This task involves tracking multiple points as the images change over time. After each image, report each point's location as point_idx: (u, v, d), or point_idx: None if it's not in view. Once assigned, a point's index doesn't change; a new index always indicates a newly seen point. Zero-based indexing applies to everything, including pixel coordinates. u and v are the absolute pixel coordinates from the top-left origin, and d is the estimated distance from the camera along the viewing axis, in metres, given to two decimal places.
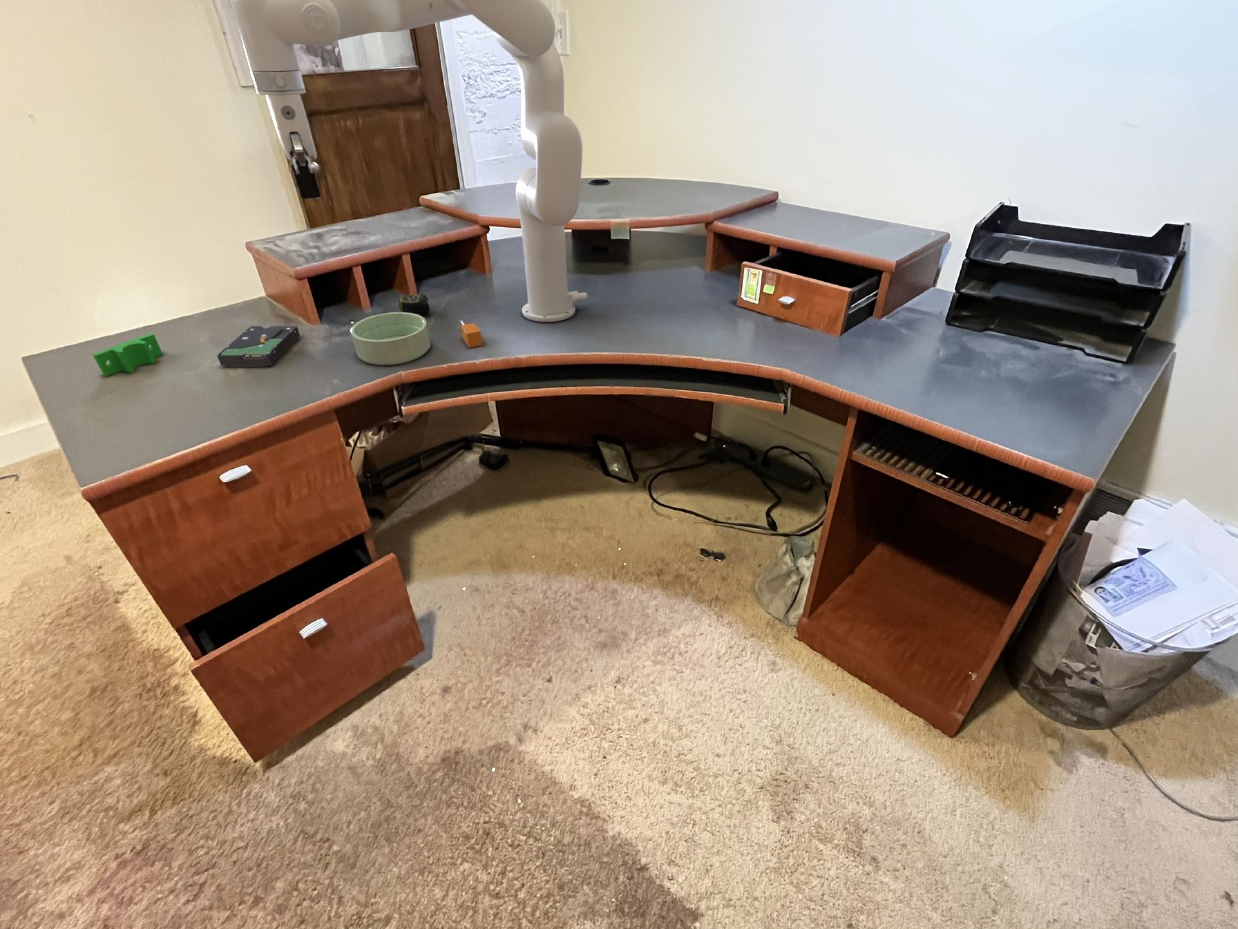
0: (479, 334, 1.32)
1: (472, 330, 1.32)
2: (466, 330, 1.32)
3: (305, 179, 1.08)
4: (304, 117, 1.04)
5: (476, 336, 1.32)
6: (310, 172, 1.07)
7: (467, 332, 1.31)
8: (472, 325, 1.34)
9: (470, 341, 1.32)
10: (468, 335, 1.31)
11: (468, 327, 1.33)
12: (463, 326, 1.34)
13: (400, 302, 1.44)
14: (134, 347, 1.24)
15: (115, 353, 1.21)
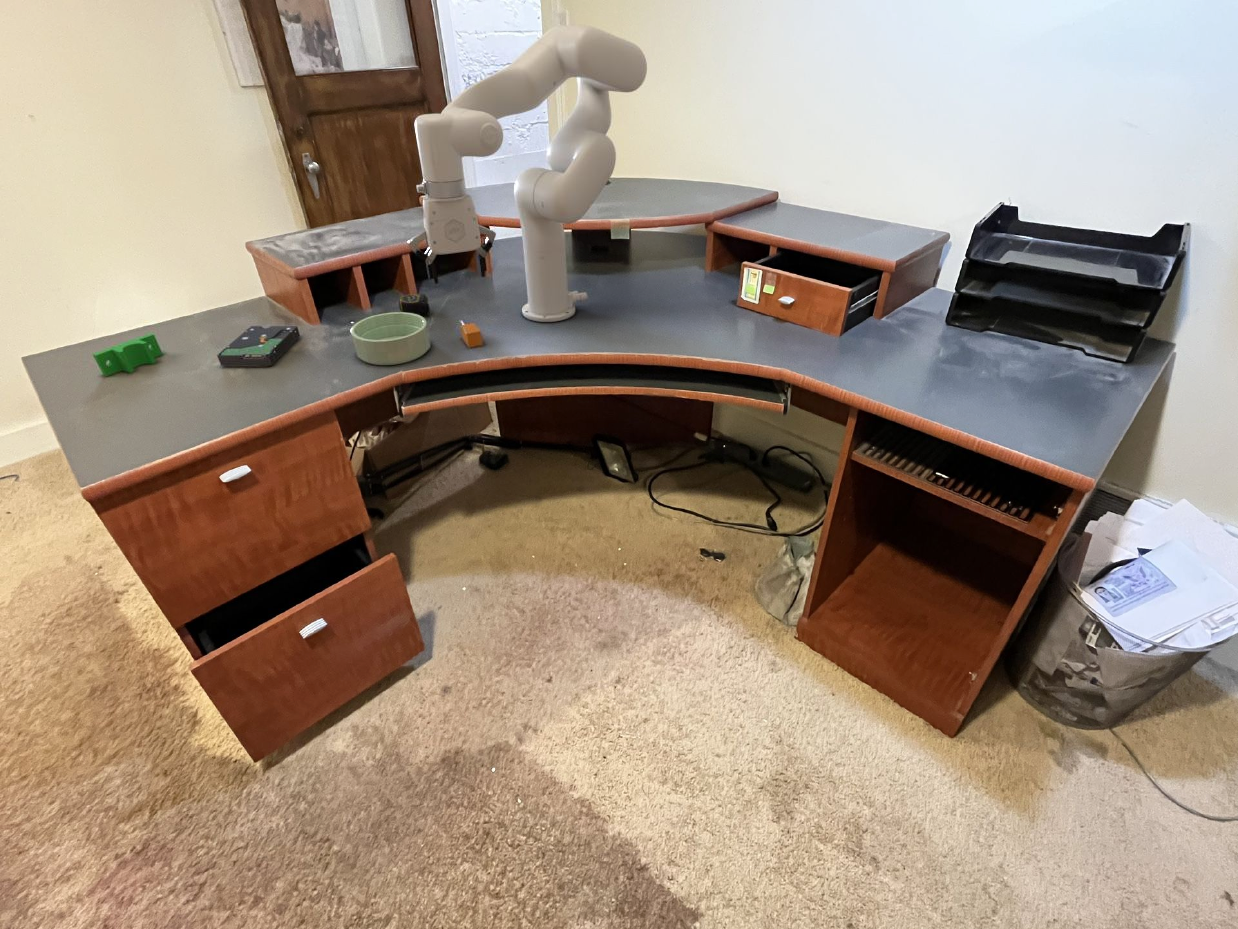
0: (479, 334, 1.32)
1: (472, 330, 1.32)
2: (466, 330, 1.32)
3: (427, 266, 1.23)
4: (428, 220, 1.16)
5: (476, 336, 1.32)
6: (426, 262, 1.22)
7: (467, 332, 1.31)
8: (472, 325, 1.34)
9: (470, 341, 1.32)
10: (468, 335, 1.31)
11: (468, 327, 1.33)
12: (463, 326, 1.34)
13: (400, 302, 1.44)
14: (134, 347, 1.24)
15: (115, 353, 1.21)
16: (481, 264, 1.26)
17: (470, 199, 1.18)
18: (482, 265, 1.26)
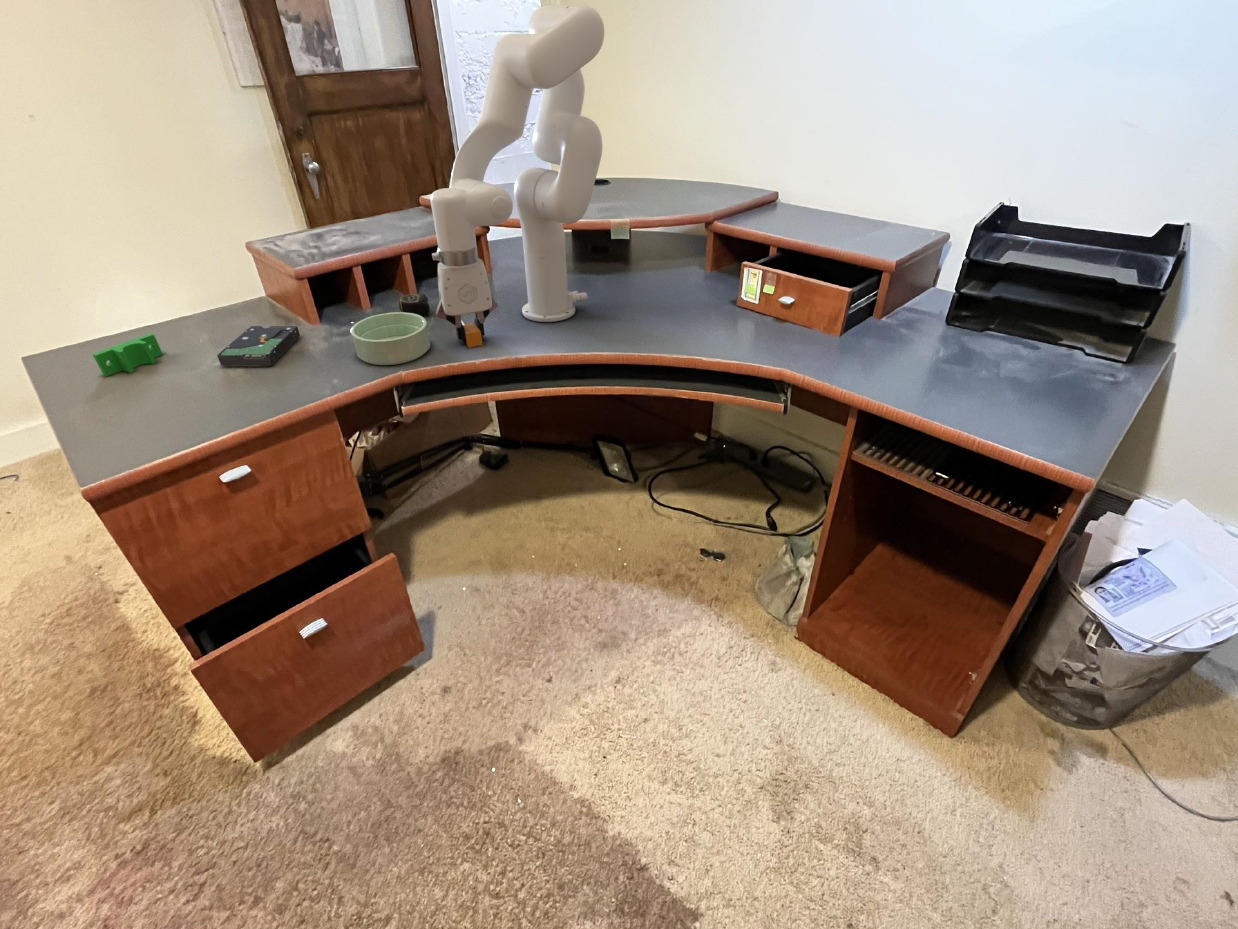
0: (479, 334, 1.32)
1: (472, 330, 1.32)
2: (466, 330, 1.32)
3: (456, 328, 1.32)
4: (443, 285, 1.24)
5: (476, 336, 1.32)
6: (457, 326, 1.31)
7: (467, 332, 1.31)
8: (472, 325, 1.34)
9: (470, 341, 1.32)
10: (468, 335, 1.31)
11: (468, 327, 1.33)
12: None
13: (400, 302, 1.44)
14: (134, 347, 1.24)
15: (115, 353, 1.21)
16: None
17: (482, 264, 1.25)
18: None
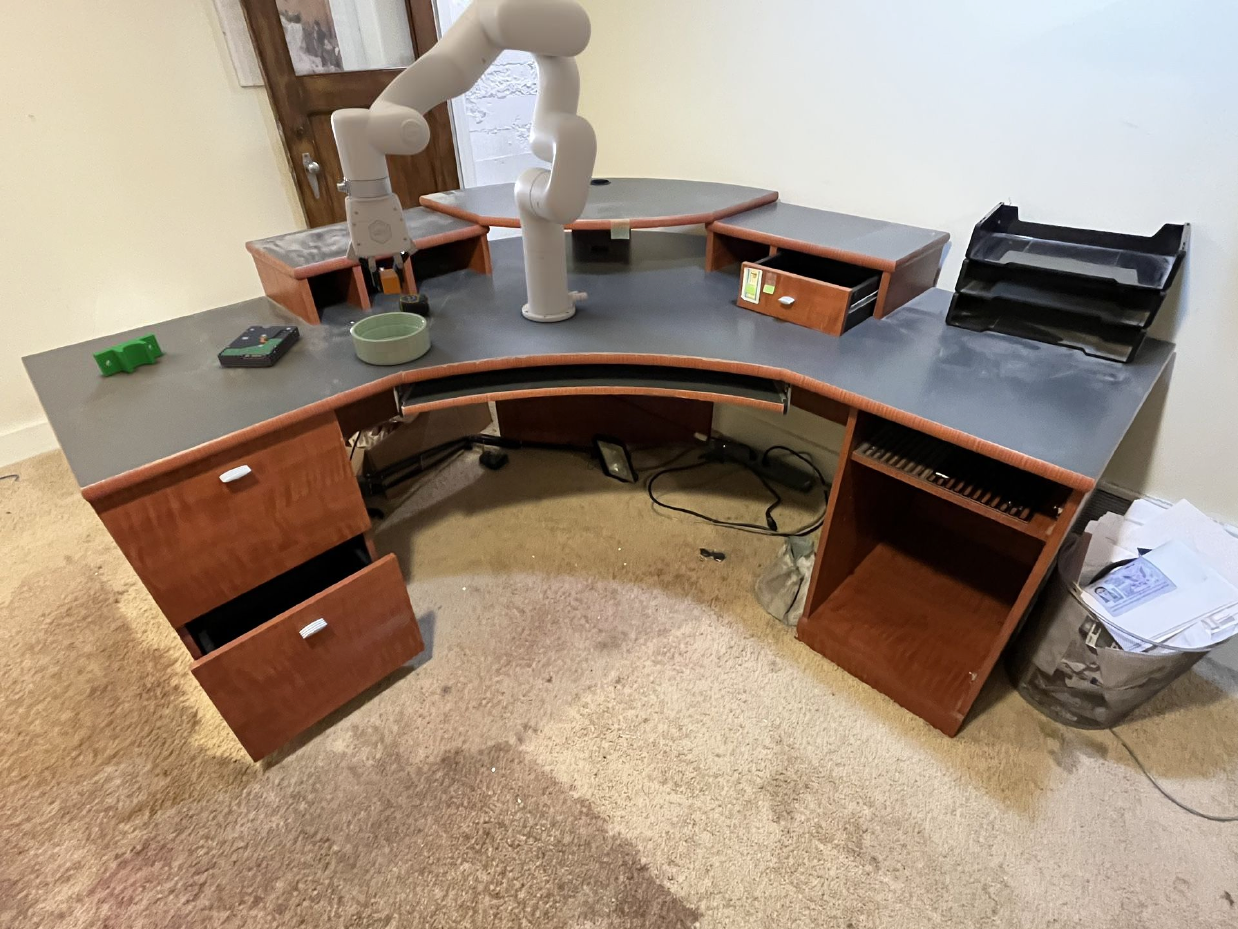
0: (396, 279, 1.18)
1: (388, 275, 1.18)
2: (382, 275, 1.18)
3: (371, 273, 1.19)
4: (350, 220, 1.11)
5: (393, 281, 1.18)
6: (371, 271, 1.18)
7: (382, 277, 1.18)
8: (390, 270, 1.21)
9: (386, 287, 1.18)
10: (383, 280, 1.17)
11: (386, 272, 1.20)
12: (380, 271, 1.20)
13: (400, 302, 1.44)
14: (134, 347, 1.24)
15: (115, 353, 1.21)
16: (397, 275, 1.20)
17: (396, 199, 1.12)
18: (399, 276, 1.20)
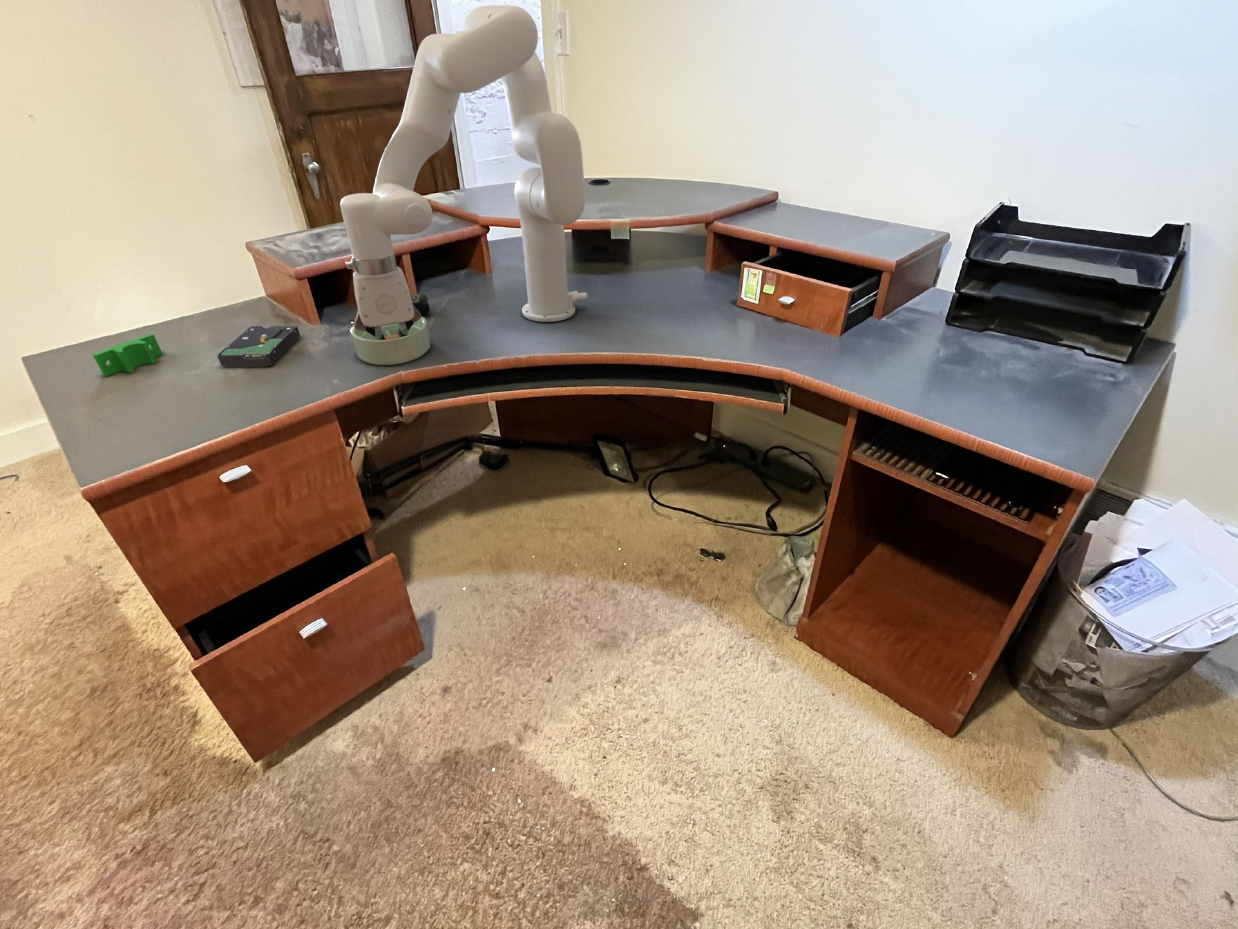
0: None
1: None
2: None
3: None
4: (358, 295, 1.18)
5: None
6: (377, 338, 1.25)
7: None
8: (395, 336, 1.28)
9: None
10: None
11: (391, 338, 1.27)
12: (385, 337, 1.27)
13: None
14: (134, 347, 1.24)
15: (115, 353, 1.21)
16: None
17: (400, 273, 1.19)
18: None
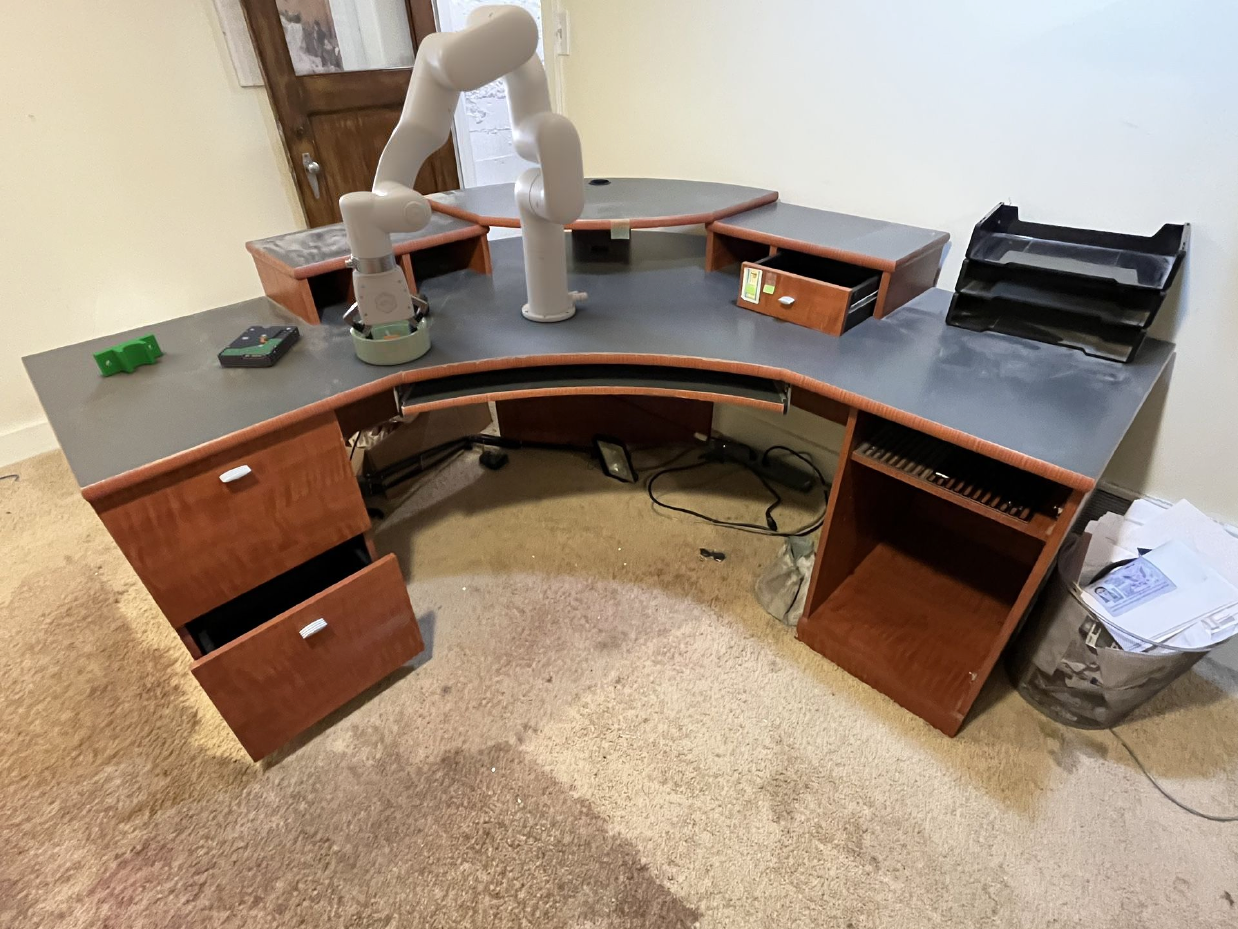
0: None
1: None
2: None
3: (365, 337, 1.25)
4: (357, 294, 1.18)
5: None
6: (363, 334, 1.24)
7: None
8: (395, 336, 1.28)
9: None
10: None
11: (391, 338, 1.27)
12: (385, 337, 1.27)
13: None
14: (134, 347, 1.24)
15: (115, 353, 1.21)
16: None
17: (400, 272, 1.19)
18: None
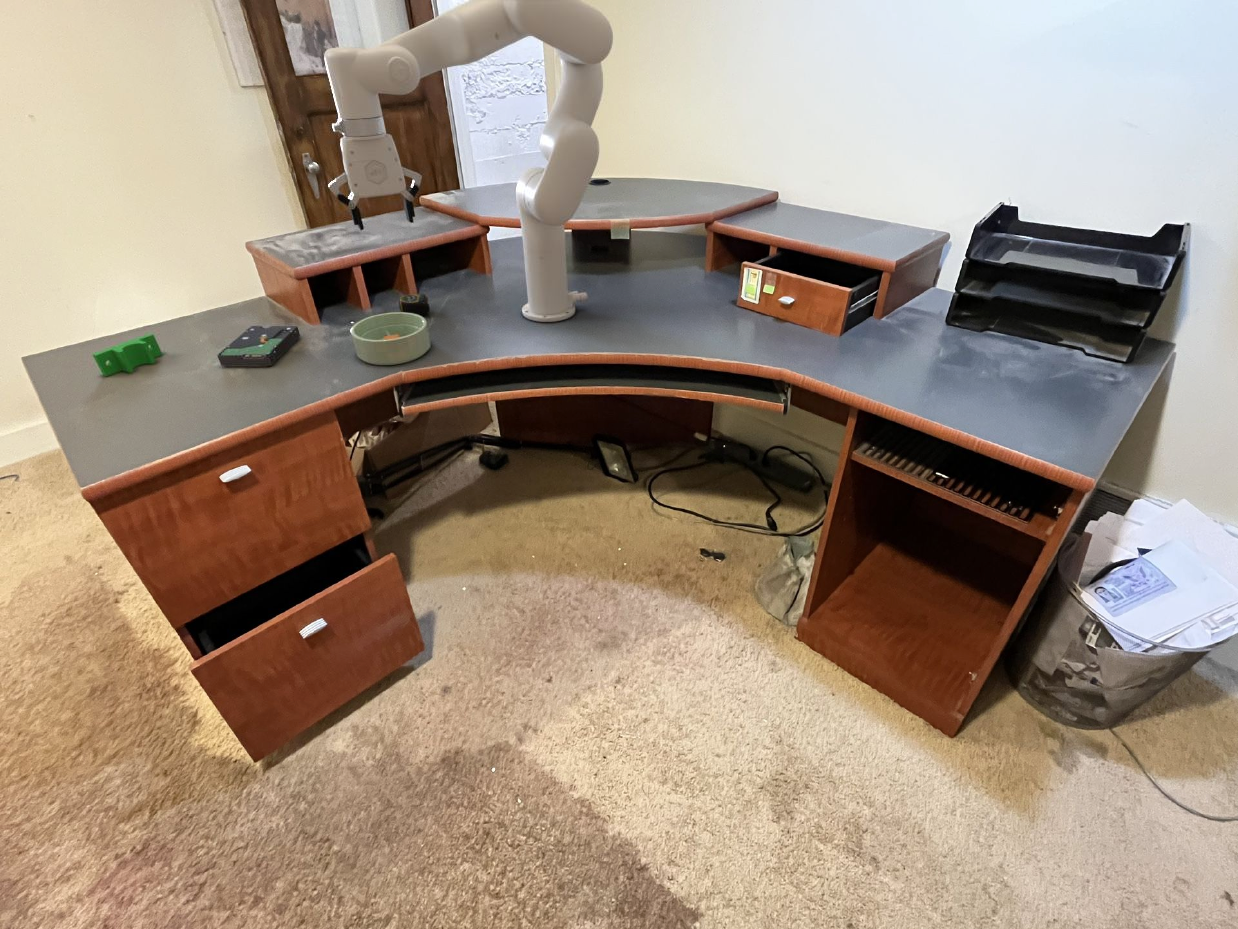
0: None
1: None
2: None
3: (351, 211, 1.20)
4: (346, 160, 1.13)
5: None
6: (349, 207, 1.18)
7: None
8: (395, 336, 1.28)
9: None
10: None
11: (391, 338, 1.27)
12: (385, 337, 1.27)
13: (400, 302, 1.44)
14: (134, 347, 1.24)
15: (115, 353, 1.21)
16: (408, 209, 1.23)
17: (390, 138, 1.14)
18: (409, 210, 1.23)
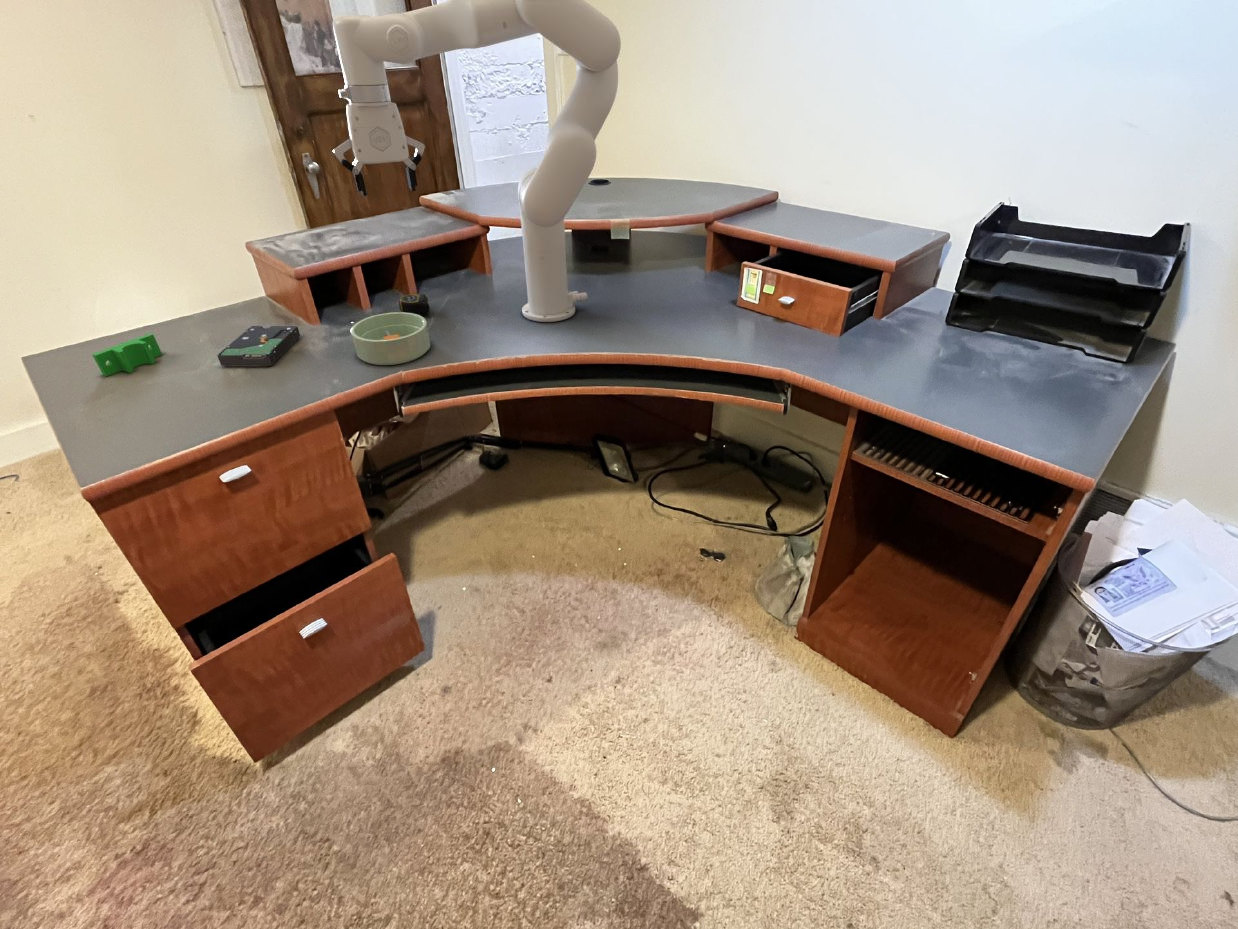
0: None
1: None
2: None
3: (355, 177, 1.23)
4: (351, 126, 1.16)
5: None
6: (353, 172, 1.21)
7: None
8: (395, 336, 1.28)
9: None
10: None
11: (391, 338, 1.27)
12: (385, 337, 1.27)
13: (400, 302, 1.44)
14: (134, 347, 1.24)
15: (115, 353, 1.21)
16: (411, 177, 1.26)
17: (394, 106, 1.18)
18: (412, 178, 1.26)
